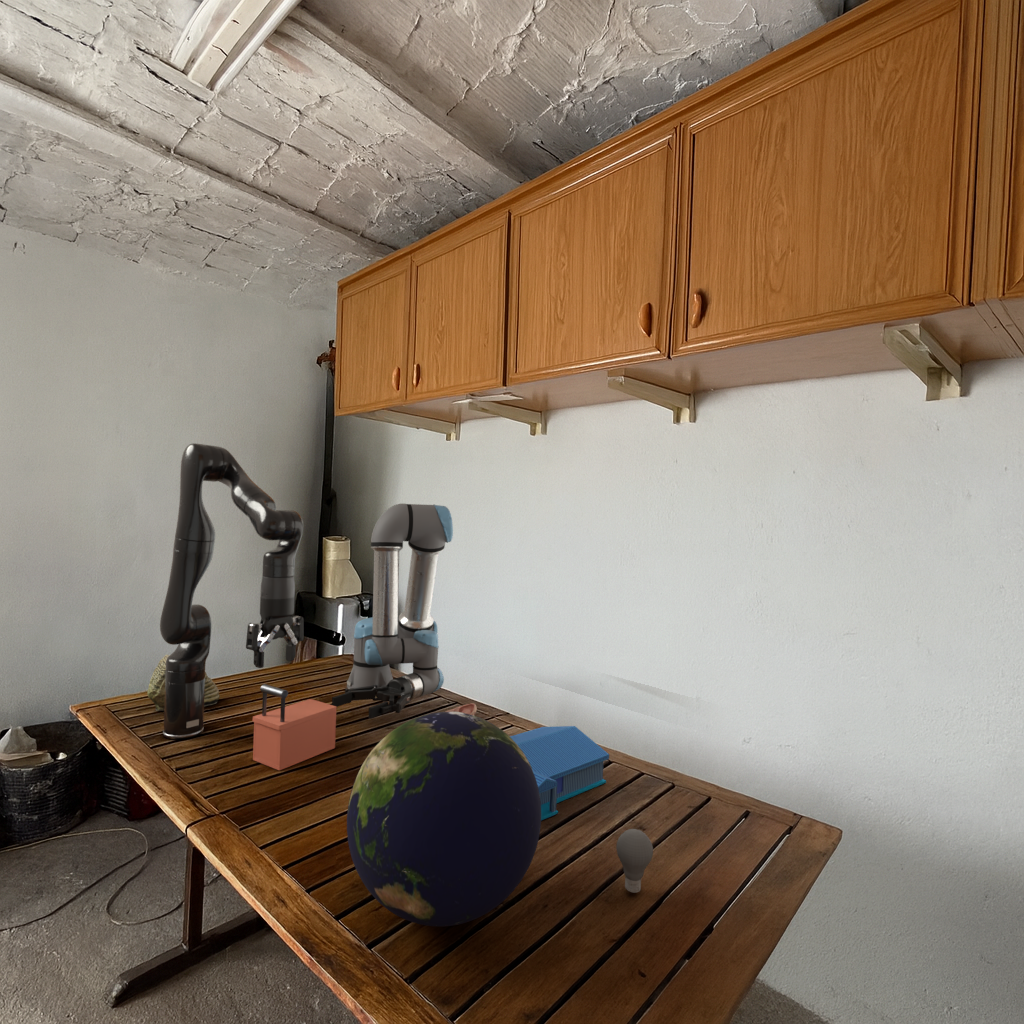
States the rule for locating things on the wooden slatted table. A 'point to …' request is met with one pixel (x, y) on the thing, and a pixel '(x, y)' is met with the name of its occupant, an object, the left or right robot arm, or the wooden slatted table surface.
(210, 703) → the fossil
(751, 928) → the wooden slatted table surface
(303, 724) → the chest
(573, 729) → the model building
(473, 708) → the anatomical model
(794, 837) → the wooden slatted table surface
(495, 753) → the globe
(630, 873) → the light bulb
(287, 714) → the lid
